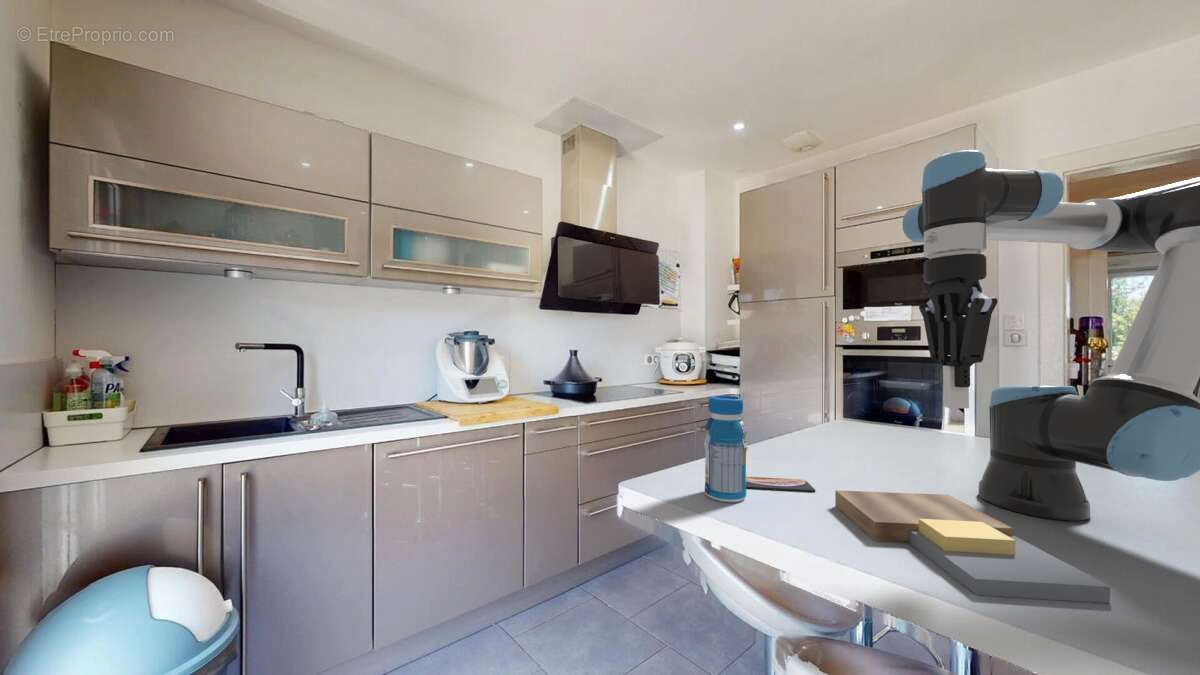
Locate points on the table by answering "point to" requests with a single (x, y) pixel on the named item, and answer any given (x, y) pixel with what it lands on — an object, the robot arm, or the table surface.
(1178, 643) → the table surface
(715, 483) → the beverage bottle
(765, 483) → the smartphone
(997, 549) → the tile
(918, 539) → the mat
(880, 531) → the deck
